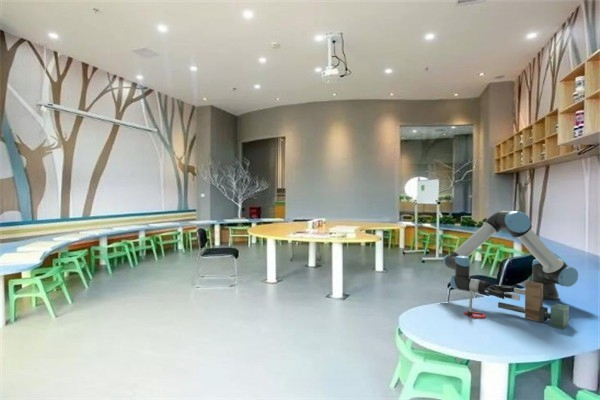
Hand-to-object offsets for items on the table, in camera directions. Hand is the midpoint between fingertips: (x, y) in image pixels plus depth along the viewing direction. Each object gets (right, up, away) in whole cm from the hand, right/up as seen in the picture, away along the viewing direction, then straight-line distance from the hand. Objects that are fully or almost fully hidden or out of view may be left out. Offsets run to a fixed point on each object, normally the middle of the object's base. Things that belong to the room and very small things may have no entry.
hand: (524, 295), depth 175 cm
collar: (+6, -11, -6) cm, 14 cm away
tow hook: (-24, -11, +2) cm, 26 cm away
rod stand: (+2, -11, -2) cm, 12 cm away
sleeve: (+3, -11, -3) cm, 12 cm away
